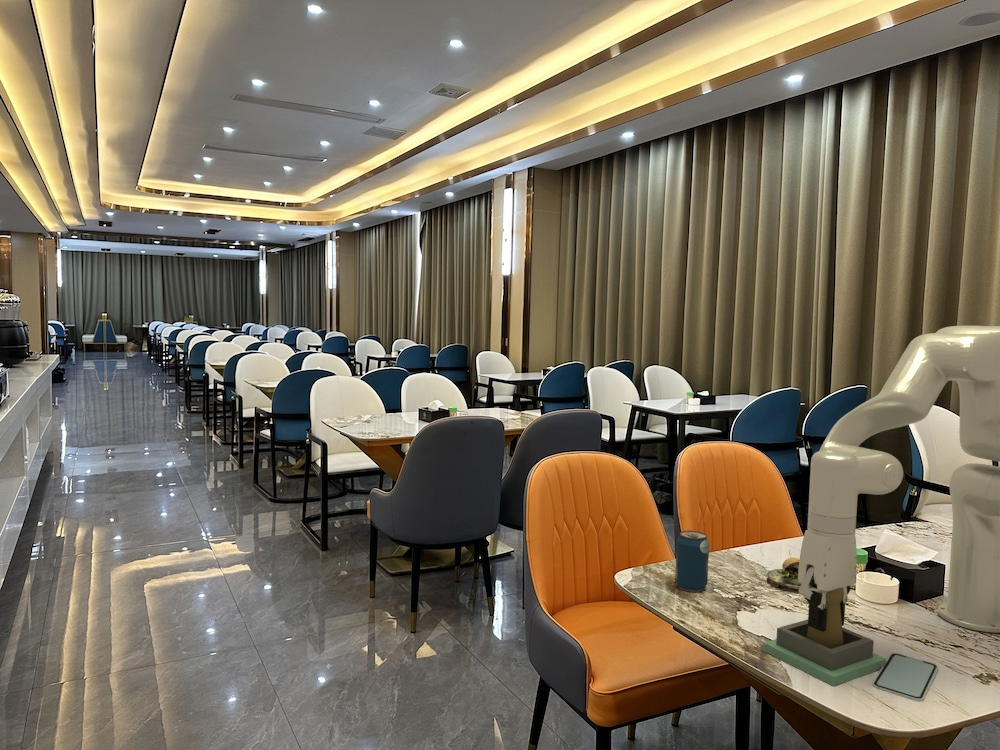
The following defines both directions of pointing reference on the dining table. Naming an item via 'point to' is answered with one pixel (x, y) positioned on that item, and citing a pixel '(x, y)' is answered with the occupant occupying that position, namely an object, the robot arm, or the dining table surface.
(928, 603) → the dining table surface
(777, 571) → the burger
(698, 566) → the soda can
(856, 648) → the socket board
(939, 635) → the dining table surface
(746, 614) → the dining table surface
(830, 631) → the olive brown pawn
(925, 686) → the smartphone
